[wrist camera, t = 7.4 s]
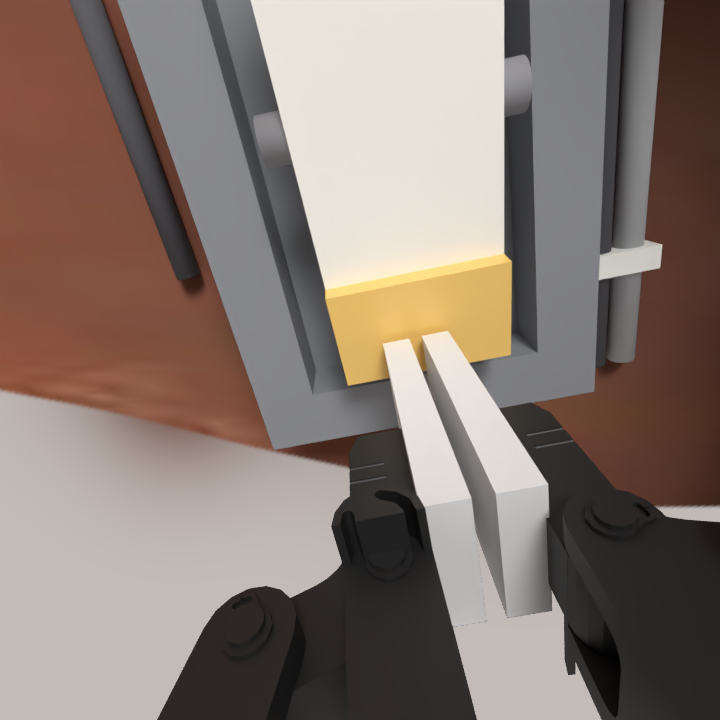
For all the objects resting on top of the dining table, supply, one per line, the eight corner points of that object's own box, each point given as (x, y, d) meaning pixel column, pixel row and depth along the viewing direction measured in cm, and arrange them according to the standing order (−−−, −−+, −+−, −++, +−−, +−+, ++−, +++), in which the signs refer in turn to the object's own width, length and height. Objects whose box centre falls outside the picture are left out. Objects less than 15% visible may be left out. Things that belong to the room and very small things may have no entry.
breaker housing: (115, -183, 13) (-41, -414, 8) (511, -291, 13) (634, -625, 7) (287, 378, 22) (267, 451, 16) (530, 331, 21) (594, 391, 16)
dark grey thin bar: (17, -156, 14) (-6, -178, 13) (47, -165, 14) (26, -187, 13) (181, 275, 19) (173, 281, 19) (203, 271, 19) (196, 276, 19)
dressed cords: (573, -421, 12) (604, -496, 10) (694, -456, 12) (741, -537, 10) (567, 360, 22) (581, 374, 21) (631, 348, 22) (650, 361, 20)
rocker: (138, -311, 7) (77, -433, 6) (514, -418, 7) (579, -588, 5) (327, 355, 15) (327, 395, 13) (509, 320, 15) (534, 356, 13)
